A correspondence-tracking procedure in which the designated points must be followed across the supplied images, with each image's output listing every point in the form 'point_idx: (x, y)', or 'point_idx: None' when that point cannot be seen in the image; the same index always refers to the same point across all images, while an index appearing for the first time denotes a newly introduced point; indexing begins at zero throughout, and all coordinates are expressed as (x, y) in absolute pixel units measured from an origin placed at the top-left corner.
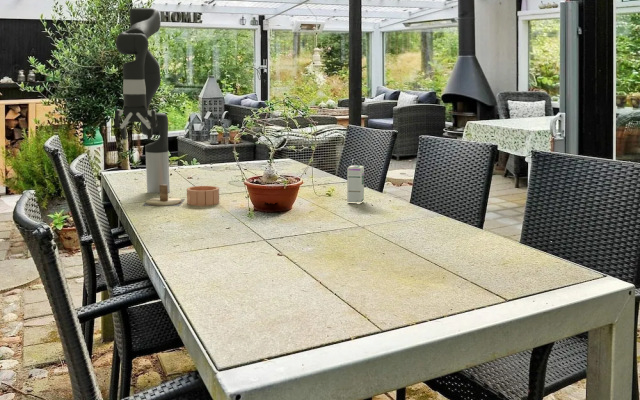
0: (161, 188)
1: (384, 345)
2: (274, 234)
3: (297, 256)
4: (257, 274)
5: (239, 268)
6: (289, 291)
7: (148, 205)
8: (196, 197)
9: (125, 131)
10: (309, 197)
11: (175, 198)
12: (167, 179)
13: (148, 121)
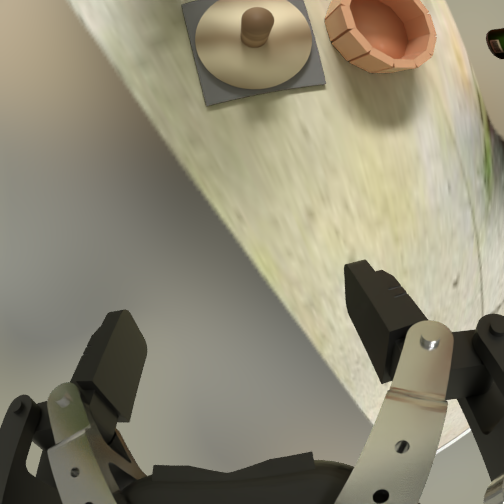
0: (255, 36)
1: (465, 434)
2: (496, 296)
3: None
4: (447, 406)
5: None
6: (455, 416)
7: (224, 92)
8: (382, 69)
9: (116, 377)
10: None
11: (277, 2)
12: None
13: (438, 416)
